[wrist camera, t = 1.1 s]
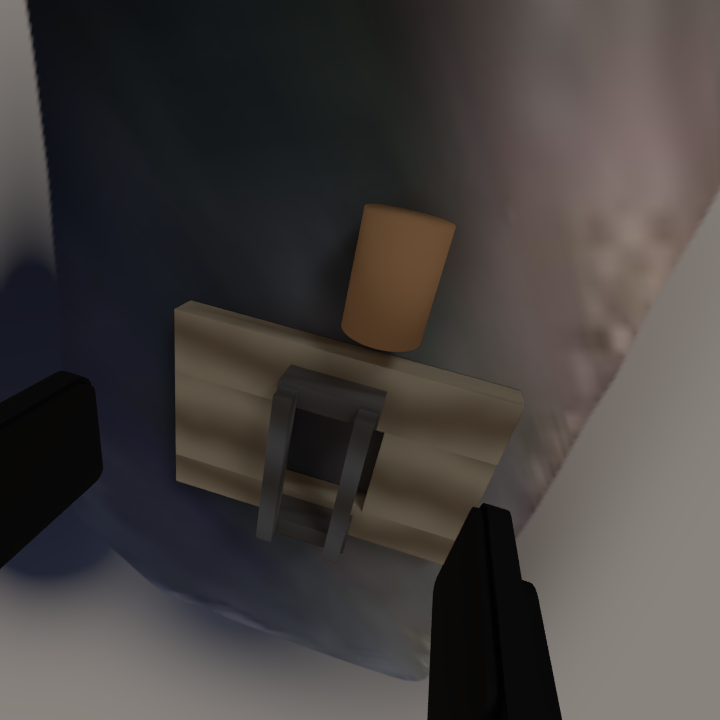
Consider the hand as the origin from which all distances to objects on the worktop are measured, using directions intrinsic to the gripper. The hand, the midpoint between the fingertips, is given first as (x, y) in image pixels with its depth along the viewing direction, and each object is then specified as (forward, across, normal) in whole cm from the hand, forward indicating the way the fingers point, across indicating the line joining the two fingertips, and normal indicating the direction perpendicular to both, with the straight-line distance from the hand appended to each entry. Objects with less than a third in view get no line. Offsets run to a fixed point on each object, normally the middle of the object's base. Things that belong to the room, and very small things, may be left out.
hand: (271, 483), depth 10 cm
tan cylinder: (+19, -1, -1) cm, 19 cm away
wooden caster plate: (+19, +1, +13) cm, 23 cm away
